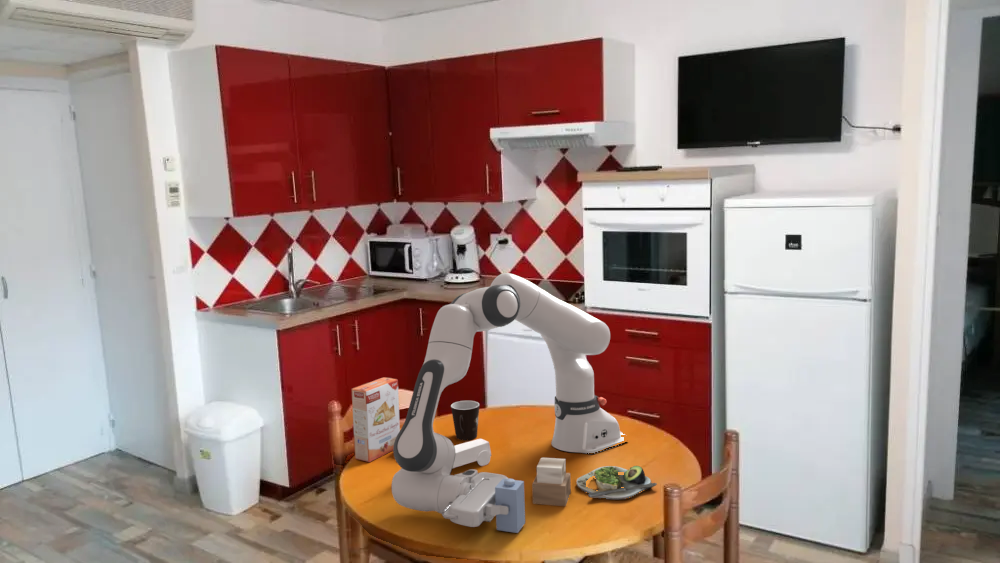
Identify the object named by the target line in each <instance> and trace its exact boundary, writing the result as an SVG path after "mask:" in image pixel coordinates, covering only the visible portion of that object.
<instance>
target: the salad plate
mask: <svg viewBox="0 0 1000 563" xmlns="http://www.w3.org/2000/svg"><path fill="white" fill-rule="evenodd" d="M618 472H624V475H618ZM592 476H595V478H596V479H595V484H596V488H597V489H595V490H593V489H594V488H590V487H589V488H588V487H586V481H587V480H588V479H589V478H590V477H592ZM575 483H576V486H577V487H578V489H580V490H581V491H582V492H583V491H584V493H585V492H587V493H589V494H587V493H586V494H587V495H588V498H594V499H595V498H596V499H597V498H598V499H601V498H606V499H605V500H627V499H626V498H628V499H630V498H629V497H631V498H633V497H635V496H636V494H637V495H639V494H640V493H639V492H641V491H643V490H645V491H647V490H649V489H652V488H654V487H655V486H657V485H658V484H657V482H652V480H651V478H650V477H648V476H646V474H645V471H644V469H643V468H642V466H639V465H634V466H632V467H629V469H626V468H623V467H619V466H617V465H614V466H613V465H607V466H606V465H605V466H600V467H597V468H595V469H593V470H591V471H590V472H588V473H585V474H583V475H581V476H580V477H577V479H576V482H575ZM621 487H624V488H621ZM646 489H647V490H646ZM596 490H598V491H596ZM643 492H644V491H643ZM638 493H639V494H638ZM641 493H642V492H641ZM634 495H635V496H634ZM632 496H633V497H632Z"/></svg>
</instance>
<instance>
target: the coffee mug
mask: <svg viewBox="0 0 1000 563" xmlns="http://www.w3.org/2000/svg"><path fill="white" fill-rule="evenodd" d="M450 408H451V415H452V421H453V427H454V433H455V438H456V439H457V440H458V439H459V441H473V440H476V438H477V437H478V430H479V429H478V427H479V416H480V415H479V414H480V403H479V402H478V401H475V400H460V401H455V402H453V403H452V404H451V405H450Z"/></svg>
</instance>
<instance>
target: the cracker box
mask: <svg viewBox="0 0 1000 563" xmlns="http://www.w3.org/2000/svg"><path fill="white" fill-rule="evenodd" d="M399 397H400V396H399V380H398V379H397V378H392V377H386V376H385V377H381V378H378V379H375V380H373V381H370V382H366V383H363V384H361V385H358V386H355V387H353V388H351V401H352V403H351V404H352V405H351V406H352V420H353V421H352V424H353V441H354V458H355V460H359V461H363V462H367V463H371V462H373V461H374V460H376V459H379V458H381V457H383V456H384V455H386V454H389V453H390V452H393V447H394V442H395V439H396V437H397V435H398V433H399V431H400V430H401V429H400V428H401V427H400V422H401V421H400V405H399V403H400V402H399V401H400V400H399Z"/></svg>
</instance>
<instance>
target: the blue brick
mask: <svg viewBox="0 0 1000 563" xmlns="http://www.w3.org/2000/svg"><path fill="white" fill-rule="evenodd" d="M495 500H496V505H502V504H508V505H510V511H509V513H508V514H507V515H504V514H499V515H495V524H496V525H495V526H496V531H500V532H501V531H502V532H509V533H516V534H518V533H519V532H520V531H521V530H522V528H523V526H524V525H525V524H526V511H525V510H526V507H525V506H526V504H525V502H526V501H525V481H524V480H518V479H517V480H516V479H514V478H508V479H502V480H501V481H500V482H499V484H498V485H497V486H496V487H495Z"/></svg>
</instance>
